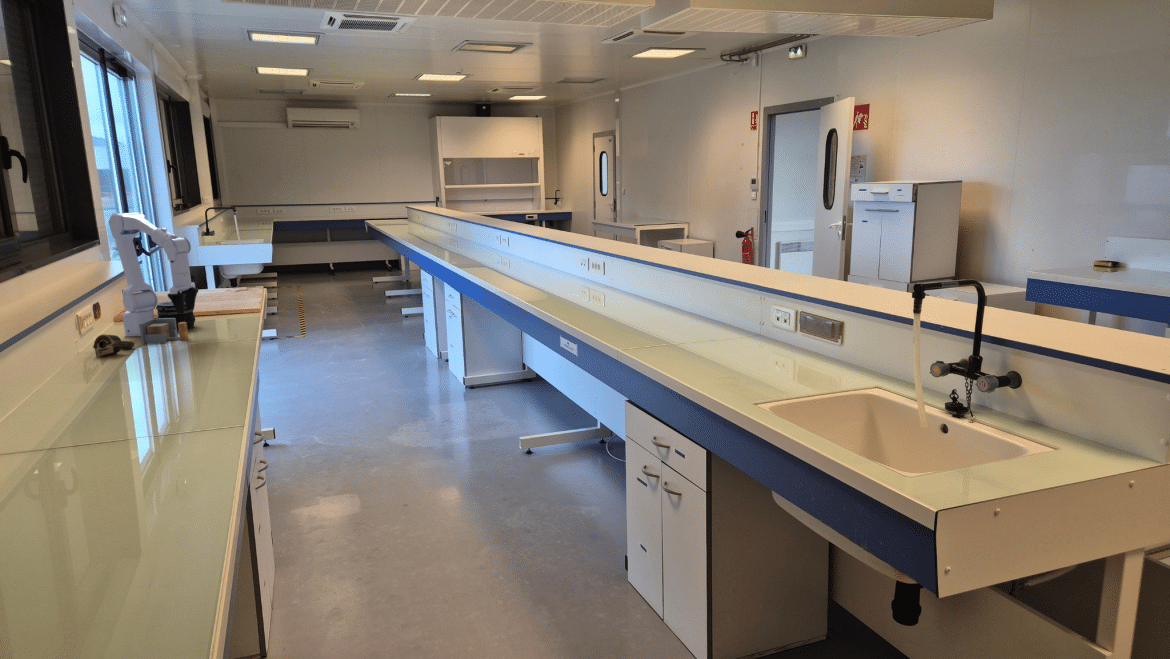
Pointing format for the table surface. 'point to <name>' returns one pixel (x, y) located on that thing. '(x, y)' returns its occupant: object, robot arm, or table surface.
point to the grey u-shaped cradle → (157, 337)
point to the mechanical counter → (110, 344)
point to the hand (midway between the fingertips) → (185, 311)
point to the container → (175, 314)
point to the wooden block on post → (165, 330)
